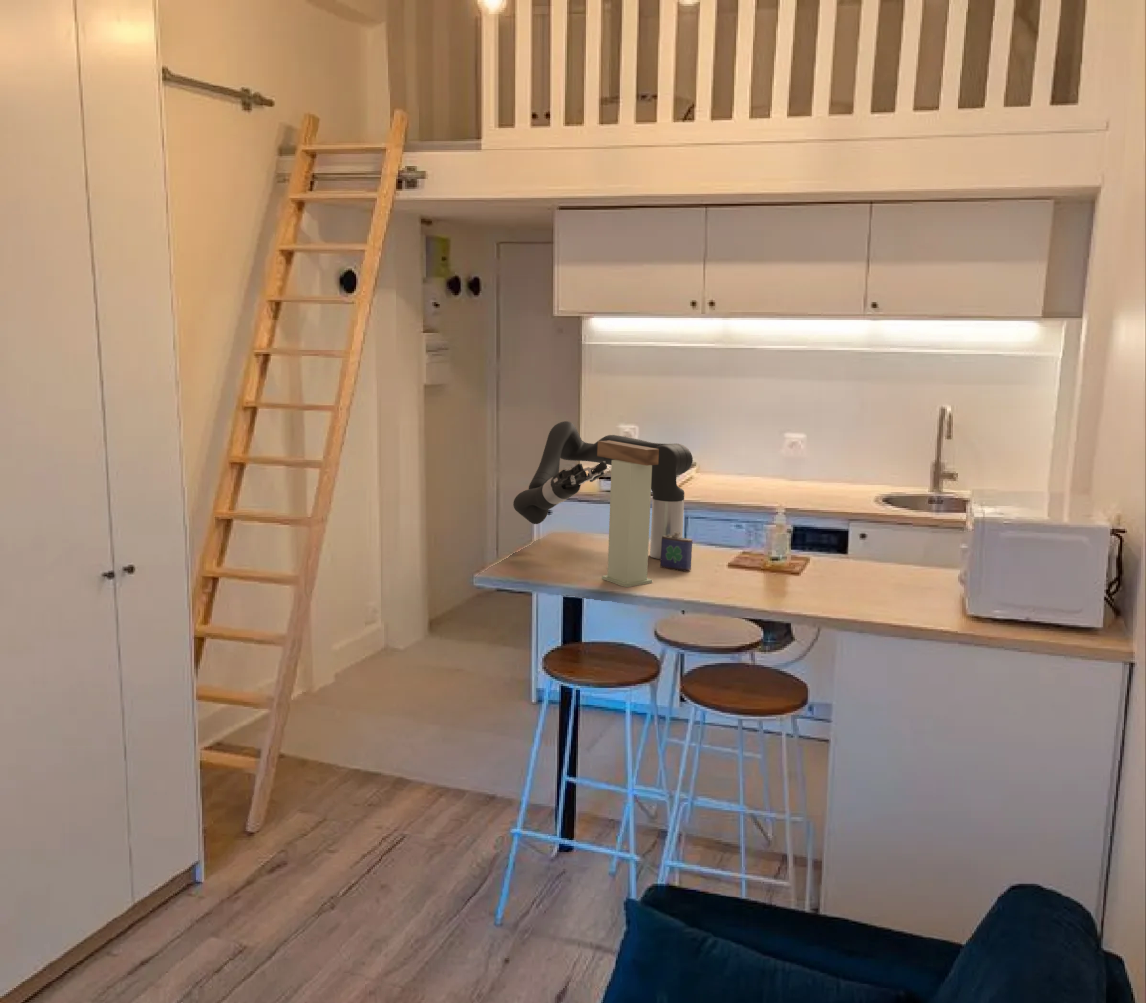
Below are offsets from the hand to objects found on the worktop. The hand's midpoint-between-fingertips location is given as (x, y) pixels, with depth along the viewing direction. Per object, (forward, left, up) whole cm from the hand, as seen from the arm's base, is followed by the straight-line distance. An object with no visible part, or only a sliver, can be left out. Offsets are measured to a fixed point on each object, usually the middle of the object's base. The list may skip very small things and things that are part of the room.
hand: (593, 465), depth 276 cm
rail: (+7, +12, +3) cm, 14 cm away
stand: (+8, +14, -29) cm, 33 cm away
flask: (-12, +21, -29) cm, 38 cm away
